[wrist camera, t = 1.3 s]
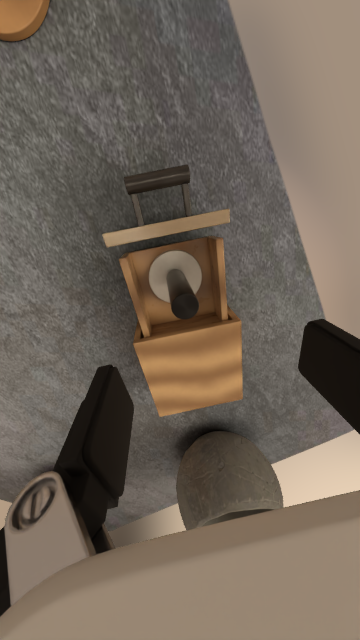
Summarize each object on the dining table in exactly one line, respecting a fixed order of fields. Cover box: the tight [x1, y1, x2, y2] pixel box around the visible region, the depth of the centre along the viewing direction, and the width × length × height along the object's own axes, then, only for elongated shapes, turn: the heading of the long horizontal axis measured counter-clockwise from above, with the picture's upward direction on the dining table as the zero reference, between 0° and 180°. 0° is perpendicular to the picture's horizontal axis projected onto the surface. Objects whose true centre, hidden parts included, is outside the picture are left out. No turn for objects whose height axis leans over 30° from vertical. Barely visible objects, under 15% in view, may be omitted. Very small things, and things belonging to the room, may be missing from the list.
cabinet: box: [133, 305, 243, 417], centre depth 29 cm, size 15×14×7 cm
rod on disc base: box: [149, 250, 202, 319], centre depth 20 cm, size 7×7×10 cm
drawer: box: [102, 165, 230, 338], centre depth 22 cm, size 18×12×5 cm
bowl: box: [176, 431, 283, 530], centre depth 40 cm, size 21×21×15 cm
